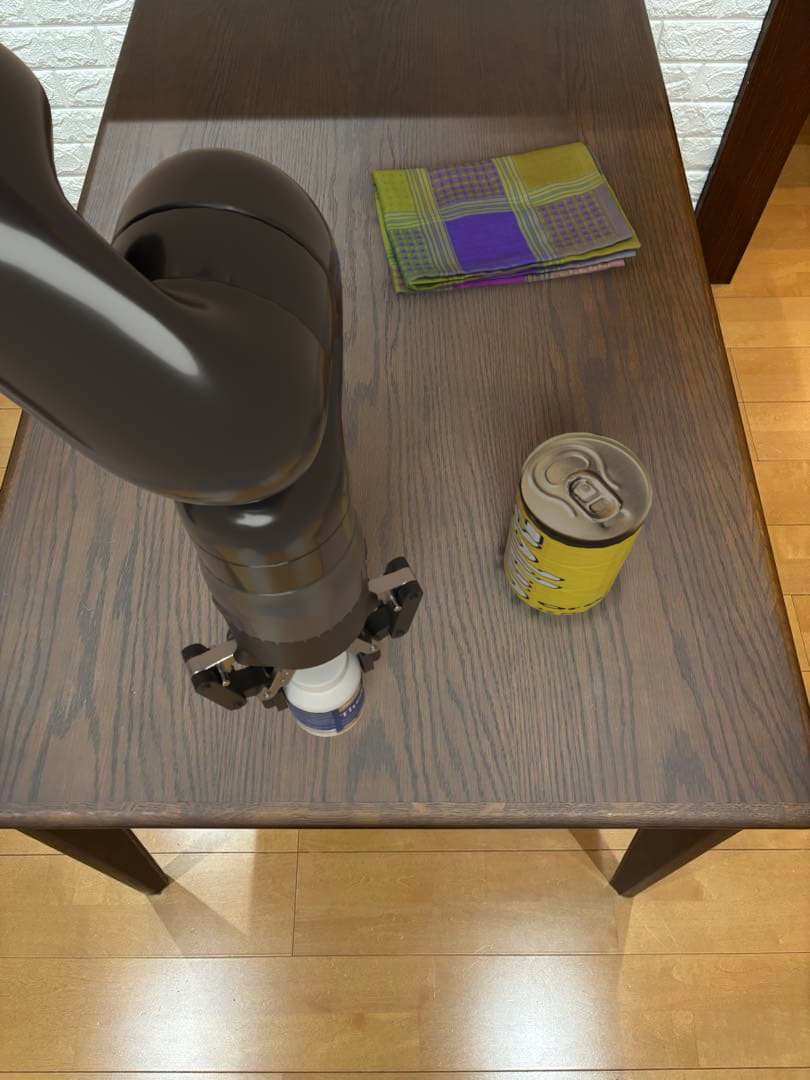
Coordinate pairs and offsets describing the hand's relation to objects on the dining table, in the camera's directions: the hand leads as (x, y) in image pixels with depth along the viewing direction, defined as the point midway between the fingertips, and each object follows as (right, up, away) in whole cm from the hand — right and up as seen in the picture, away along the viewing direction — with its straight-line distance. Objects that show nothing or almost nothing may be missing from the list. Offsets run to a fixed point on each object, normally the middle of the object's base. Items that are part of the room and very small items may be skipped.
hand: (320, 677), depth 54 cm
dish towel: (+15, +41, +30) cm, 53 cm away
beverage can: (+18, +7, +12) cm, 23 cm away
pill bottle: (0, -3, +5) cm, 6 cm away
